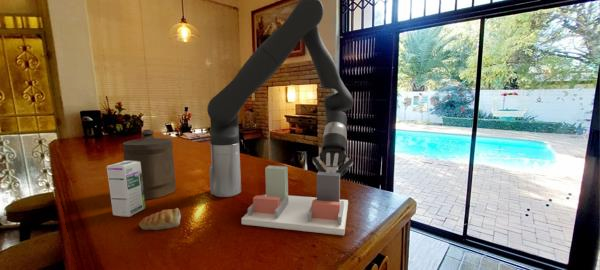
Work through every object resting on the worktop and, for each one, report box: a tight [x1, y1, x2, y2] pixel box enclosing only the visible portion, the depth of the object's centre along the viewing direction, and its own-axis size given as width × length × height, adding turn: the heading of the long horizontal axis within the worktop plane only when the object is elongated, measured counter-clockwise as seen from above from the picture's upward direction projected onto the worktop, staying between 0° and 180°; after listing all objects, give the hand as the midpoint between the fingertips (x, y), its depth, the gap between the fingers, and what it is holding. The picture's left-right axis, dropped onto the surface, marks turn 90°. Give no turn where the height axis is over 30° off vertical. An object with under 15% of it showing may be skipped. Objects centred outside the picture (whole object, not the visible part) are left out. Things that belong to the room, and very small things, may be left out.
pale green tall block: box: [264, 165, 289, 202], centre depth 77 cm, size 6×3×10 cm, turn 77°
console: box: [241, 194, 349, 236], centre depth 71 cm, size 26×18×6 cm
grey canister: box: [122, 129, 177, 201], centre depth 88 cm, size 15×15×22 cm
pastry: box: [138, 207, 182, 231], centre depth 66 cm, size 9×7×4 cm
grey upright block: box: [316, 171, 341, 202], centre depth 70 cm, size 6×3×10 cm, turn 77°
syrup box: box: [106, 160, 147, 218], centre depth 73 cm, size 6×6×14 cm
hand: (330, 187), depth 74 cm, fingers closed
